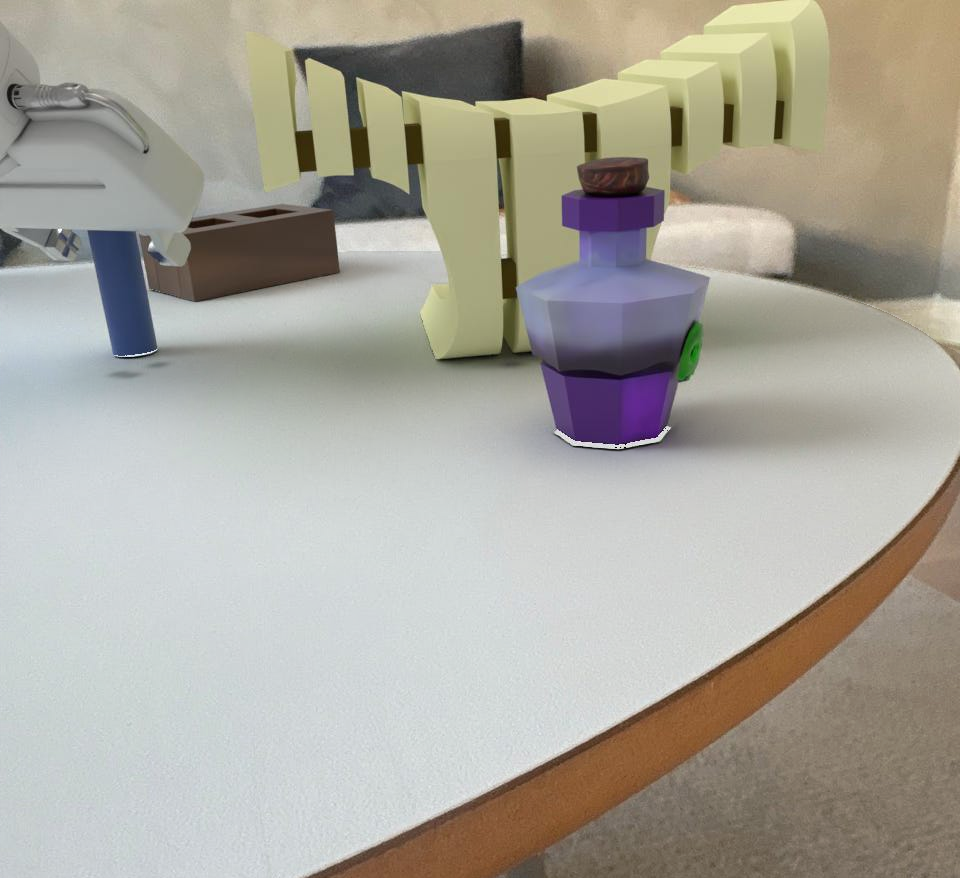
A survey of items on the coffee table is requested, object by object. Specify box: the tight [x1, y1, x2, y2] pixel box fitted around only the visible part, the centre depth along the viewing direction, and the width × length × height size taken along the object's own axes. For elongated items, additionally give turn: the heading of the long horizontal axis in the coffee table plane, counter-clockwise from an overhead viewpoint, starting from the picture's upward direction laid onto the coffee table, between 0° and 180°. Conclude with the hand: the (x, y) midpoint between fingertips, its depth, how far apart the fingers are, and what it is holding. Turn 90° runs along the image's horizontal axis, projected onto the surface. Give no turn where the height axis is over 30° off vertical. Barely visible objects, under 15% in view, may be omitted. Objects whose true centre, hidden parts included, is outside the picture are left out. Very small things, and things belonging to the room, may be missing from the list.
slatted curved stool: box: [245, 0, 831, 360], centre depth 65 cm, size 30×16×18 cm, turn 97°
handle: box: [86, 230, 159, 356], centre depth 68 cm, size 3×3×11 cm
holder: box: [138, 203, 341, 303], centre depth 89 cm, size 8×14×5 cm, turn 131°
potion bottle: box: [516, 157, 711, 448], centre depth 49 cm, size 9×9×12 cm
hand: (123, 254), depth 68 cm, fingers open, 8 cm apart
